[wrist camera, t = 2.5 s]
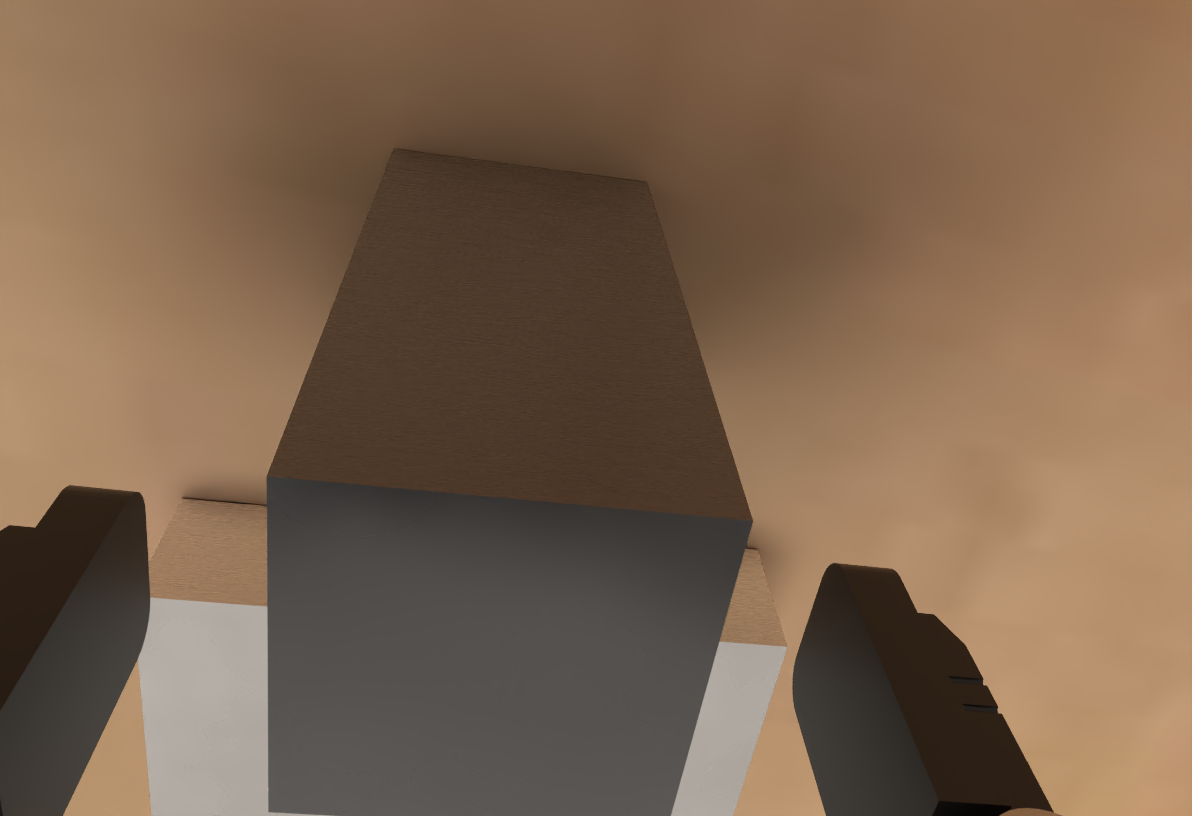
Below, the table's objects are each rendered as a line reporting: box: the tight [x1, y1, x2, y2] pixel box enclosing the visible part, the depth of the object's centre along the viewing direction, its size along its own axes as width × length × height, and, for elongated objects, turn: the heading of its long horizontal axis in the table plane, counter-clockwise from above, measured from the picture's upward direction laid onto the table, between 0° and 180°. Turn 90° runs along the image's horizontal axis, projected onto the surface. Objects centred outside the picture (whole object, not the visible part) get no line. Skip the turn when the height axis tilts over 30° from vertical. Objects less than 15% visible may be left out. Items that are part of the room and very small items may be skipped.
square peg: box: [267, 149, 753, 816], centre depth 15 cm, size 4×4×10 cm
